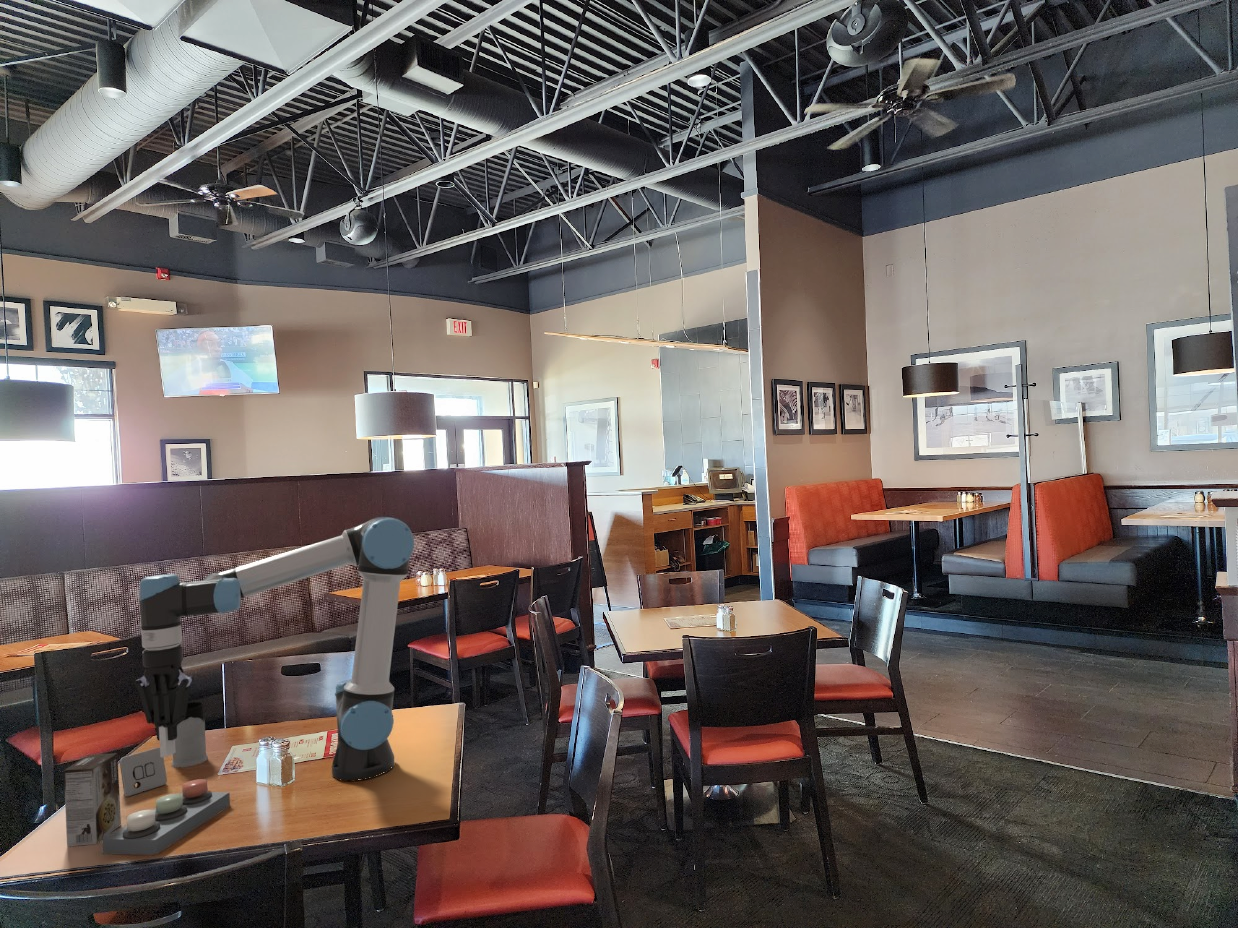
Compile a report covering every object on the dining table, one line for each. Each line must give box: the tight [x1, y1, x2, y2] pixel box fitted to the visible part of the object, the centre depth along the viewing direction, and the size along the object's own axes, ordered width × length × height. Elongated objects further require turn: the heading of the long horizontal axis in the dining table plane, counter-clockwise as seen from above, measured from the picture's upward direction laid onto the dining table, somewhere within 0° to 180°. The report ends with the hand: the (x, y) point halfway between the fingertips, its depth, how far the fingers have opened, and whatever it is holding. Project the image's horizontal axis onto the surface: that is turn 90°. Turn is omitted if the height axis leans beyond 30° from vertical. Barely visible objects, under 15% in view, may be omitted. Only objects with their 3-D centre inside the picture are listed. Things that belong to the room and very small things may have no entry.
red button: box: [181, 778, 209, 798], centre depth 174 cm, size 5×5×2 cm
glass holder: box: [170, 701, 209, 769], centre depth 210 cm, size 9×14×15 cm, turn 39°
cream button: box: [126, 809, 155, 831], centre depth 158 cm, size 5×5×2 cm
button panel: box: [101, 790, 231, 856], centre depth 166 cm, size 12×23×4 cm, turn 172°
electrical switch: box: [119, 746, 168, 797], centre depth 190 cm, size 9×5×9 cm, turn 141°
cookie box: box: [63, 752, 122, 847], centre depth 164 cm, size 9×6×16 cm
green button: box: [155, 793, 183, 814], centre depth 166 cm, size 5×5×2 cm
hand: (168, 754), depth 166 cm, fingers closed
